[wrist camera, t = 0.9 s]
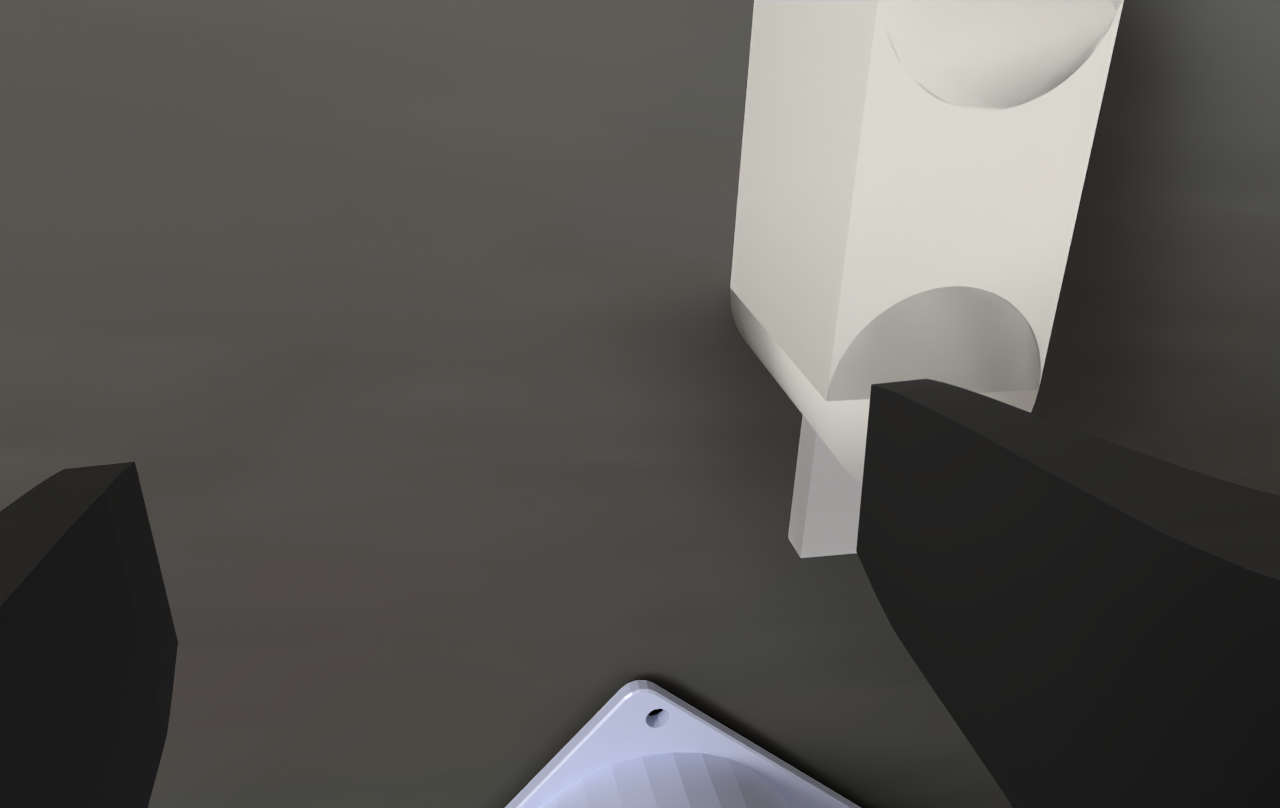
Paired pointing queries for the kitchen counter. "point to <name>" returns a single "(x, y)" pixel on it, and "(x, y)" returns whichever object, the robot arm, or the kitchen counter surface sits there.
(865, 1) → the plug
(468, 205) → the kitchen counter surface
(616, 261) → the kitchen counter surface
